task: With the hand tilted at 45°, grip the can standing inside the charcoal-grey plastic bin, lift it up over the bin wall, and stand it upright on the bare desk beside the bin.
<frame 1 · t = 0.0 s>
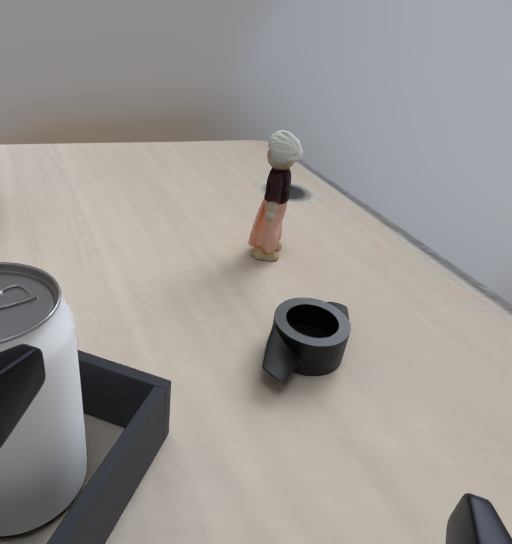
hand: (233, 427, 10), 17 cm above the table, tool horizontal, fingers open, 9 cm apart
grandmother figurine: (265, 254, 49), on the table
dark ring with tabs: (304, 351, 37), on the table
can: (24, 482, 25), resting in bin
bin: (24, 479, 25), on the table
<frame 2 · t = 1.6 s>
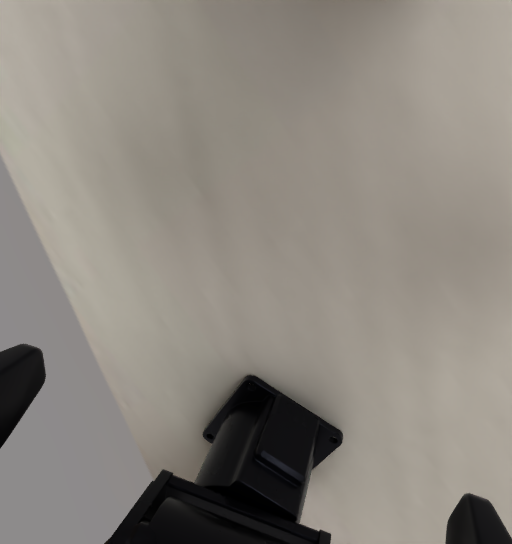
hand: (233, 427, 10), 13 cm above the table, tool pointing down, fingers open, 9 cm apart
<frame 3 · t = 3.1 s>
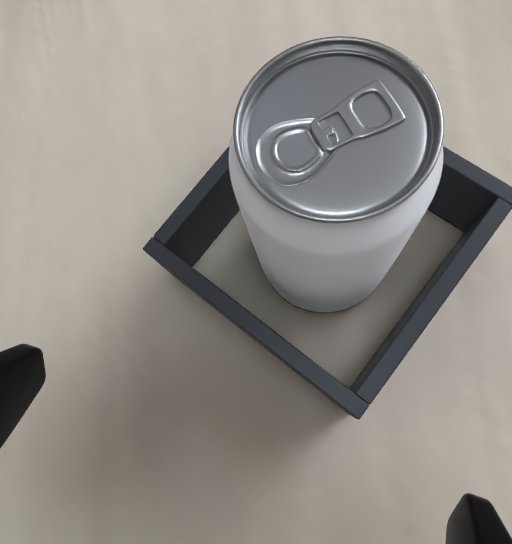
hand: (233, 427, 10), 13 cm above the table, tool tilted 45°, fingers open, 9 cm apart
can: (323, 253, 24), resting in bin
bin: (323, 252, 24), on the table
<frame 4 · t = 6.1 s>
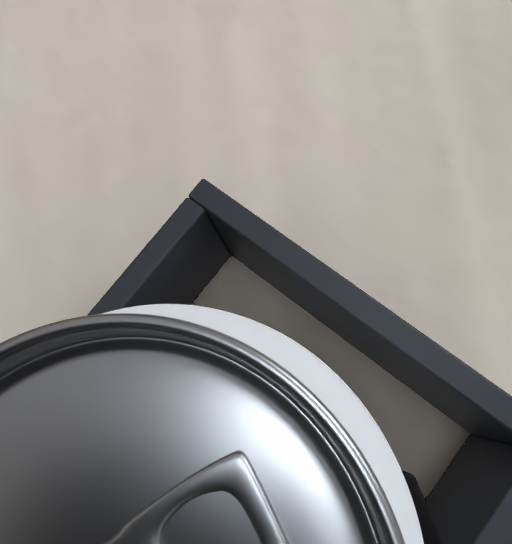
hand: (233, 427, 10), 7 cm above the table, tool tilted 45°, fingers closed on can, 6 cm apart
can: (252, 455, 16), resting in bin, touching gripper
bin: (252, 457, 16), on the table
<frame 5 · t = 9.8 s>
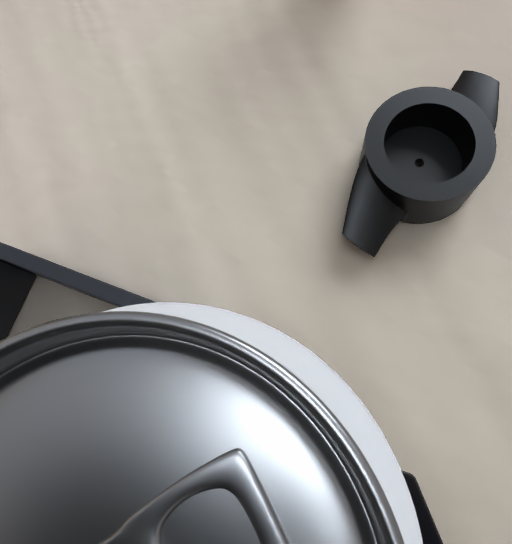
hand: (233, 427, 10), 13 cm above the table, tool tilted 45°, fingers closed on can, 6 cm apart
dark ring with tabs: (414, 172, 25), on the table
can: (252, 455, 16), point 6 cm above the table, touching gripper
bin: (76, 399, 23), on the table
when the fingers open (7 cm above the table, at t = 13.4 s): can stays where it is, on the table.
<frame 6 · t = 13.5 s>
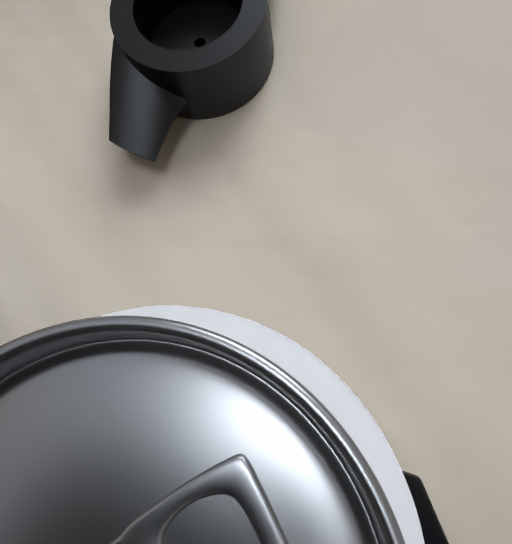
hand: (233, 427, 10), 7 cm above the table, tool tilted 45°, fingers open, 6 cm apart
dark ring with tabs: (205, 60, 20), on the table
can: (253, 455, 16), on the table
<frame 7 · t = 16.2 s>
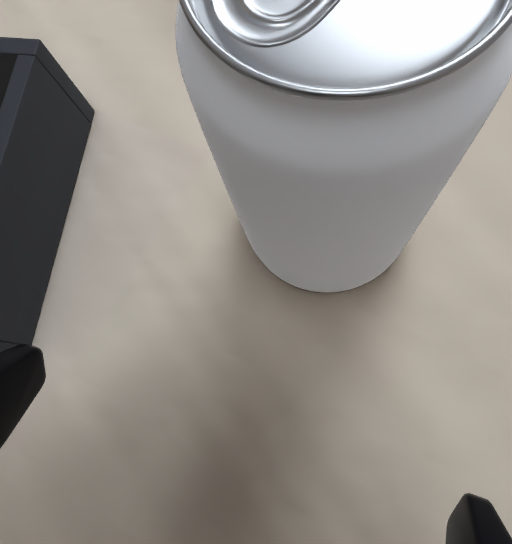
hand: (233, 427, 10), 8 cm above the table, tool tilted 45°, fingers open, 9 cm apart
can: (325, 217, 19), on the table
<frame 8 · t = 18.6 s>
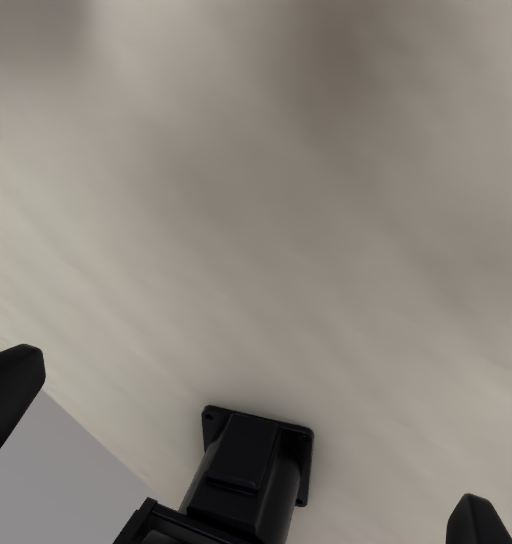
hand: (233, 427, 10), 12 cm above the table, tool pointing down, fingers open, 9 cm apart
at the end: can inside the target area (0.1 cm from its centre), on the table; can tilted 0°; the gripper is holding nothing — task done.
